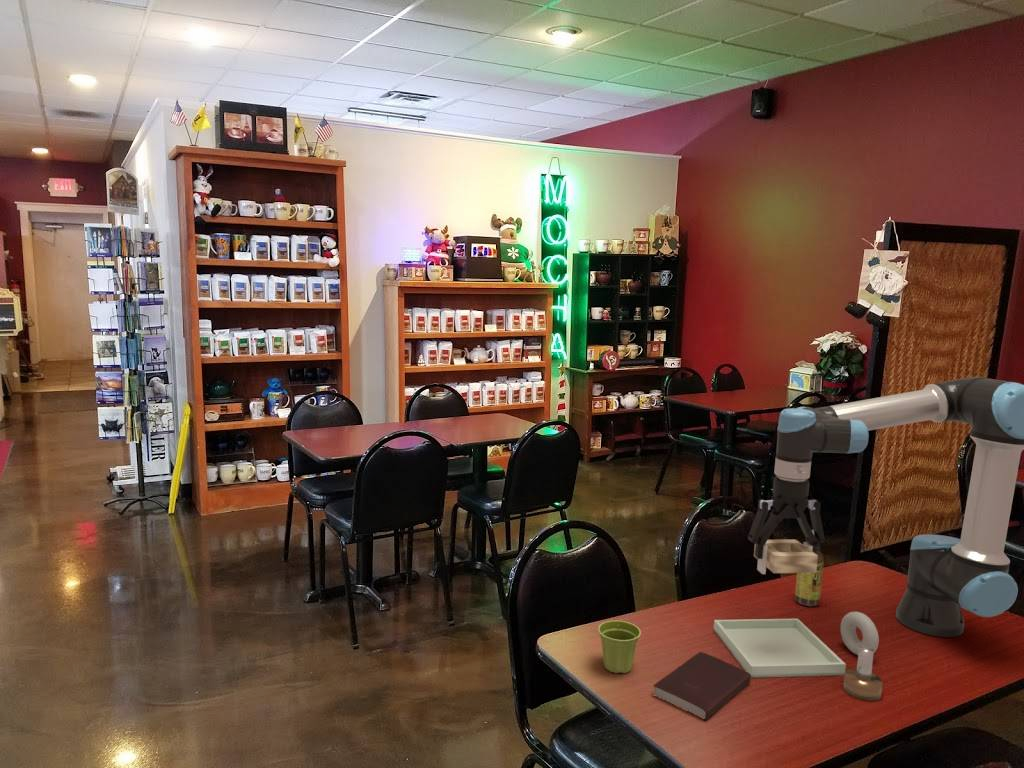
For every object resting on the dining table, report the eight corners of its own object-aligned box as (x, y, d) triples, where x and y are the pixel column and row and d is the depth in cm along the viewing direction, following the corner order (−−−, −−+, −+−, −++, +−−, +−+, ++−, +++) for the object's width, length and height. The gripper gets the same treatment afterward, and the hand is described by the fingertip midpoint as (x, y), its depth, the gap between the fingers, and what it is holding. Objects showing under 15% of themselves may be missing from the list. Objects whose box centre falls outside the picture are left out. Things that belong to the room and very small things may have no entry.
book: (751, 686, 152) (752, 672, 152) (706, 724, 139) (707, 708, 138) (698, 664, 161) (699, 650, 161) (651, 697, 147) (652, 683, 147)
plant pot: (587, 667, 157) (589, 630, 156) (610, 651, 164) (612, 616, 163) (624, 683, 151) (626, 645, 150) (646, 666, 158) (648, 629, 157)
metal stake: (868, 681, 155) (872, 640, 154) (888, 700, 148) (893, 657, 146) (836, 682, 154) (840, 640, 153) (855, 701, 147) (860, 658, 146)
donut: (880, 663, 162) (884, 622, 161) (868, 665, 161) (872, 624, 160) (846, 642, 172) (850, 603, 170) (835, 644, 171) (839, 605, 169)
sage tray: (796, 628, 178) (797, 618, 178) (844, 675, 157) (845, 664, 157) (713, 629, 176) (714, 620, 176) (750, 677, 155) (751, 666, 155)
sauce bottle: (813, 610, 189) (820, 538, 186) (790, 602, 193) (796, 531, 190) (823, 602, 193) (829, 532, 191) (800, 595, 198) (806, 526, 195)
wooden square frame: (794, 555, 169) (795, 539, 168) (816, 572, 159) (817, 555, 158) (753, 556, 168) (755, 539, 167) (773, 573, 158) (775, 555, 157)
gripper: (750, 482, 156) (743, 578, 159) (848, 482, 158) (839, 577, 161) (736, 472, 163) (729, 565, 166) (830, 473, 165) (821, 564, 168)
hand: (783, 571), depth 164 cm, fingers closed on wooden square frame, 10 cm apart
